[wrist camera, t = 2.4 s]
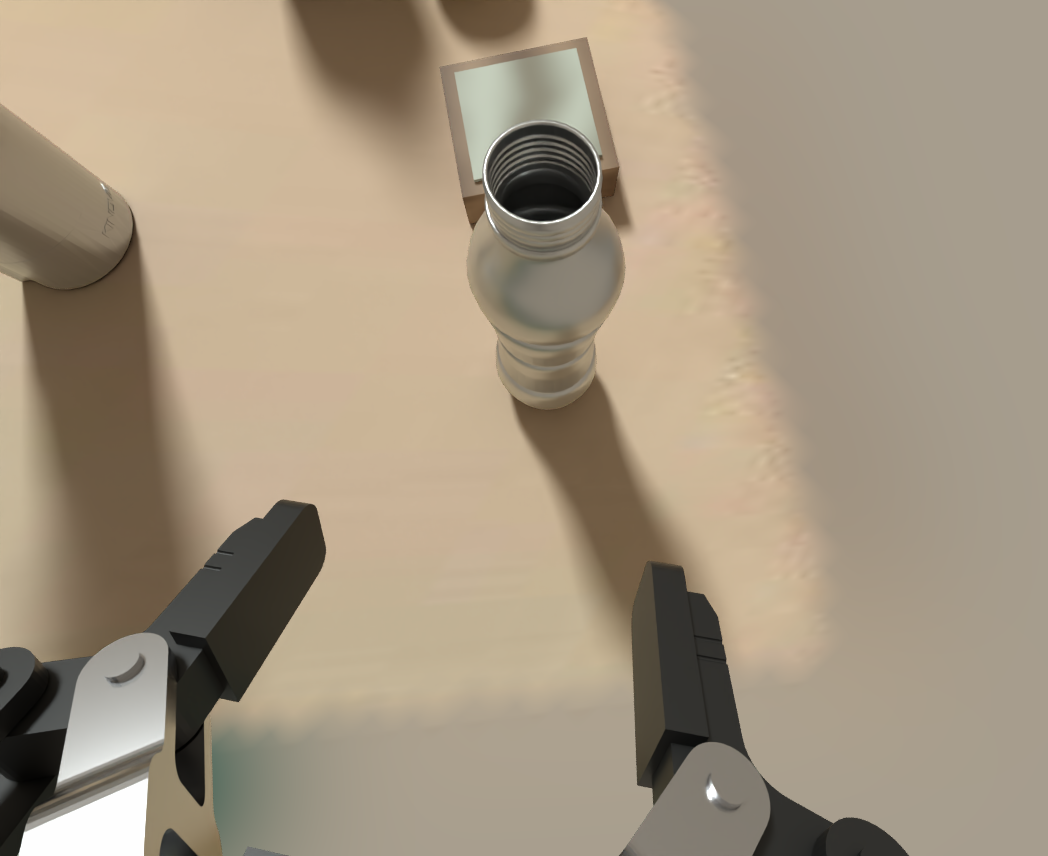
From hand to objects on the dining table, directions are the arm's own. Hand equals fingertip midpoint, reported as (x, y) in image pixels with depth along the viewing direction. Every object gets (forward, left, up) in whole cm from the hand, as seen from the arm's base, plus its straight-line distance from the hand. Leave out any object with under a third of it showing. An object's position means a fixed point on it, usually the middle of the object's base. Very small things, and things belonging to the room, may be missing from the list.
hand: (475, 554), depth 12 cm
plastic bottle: (+4, +11, -21) cm, 24 cm away
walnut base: (+6, +29, -21) cm, 36 cm away
